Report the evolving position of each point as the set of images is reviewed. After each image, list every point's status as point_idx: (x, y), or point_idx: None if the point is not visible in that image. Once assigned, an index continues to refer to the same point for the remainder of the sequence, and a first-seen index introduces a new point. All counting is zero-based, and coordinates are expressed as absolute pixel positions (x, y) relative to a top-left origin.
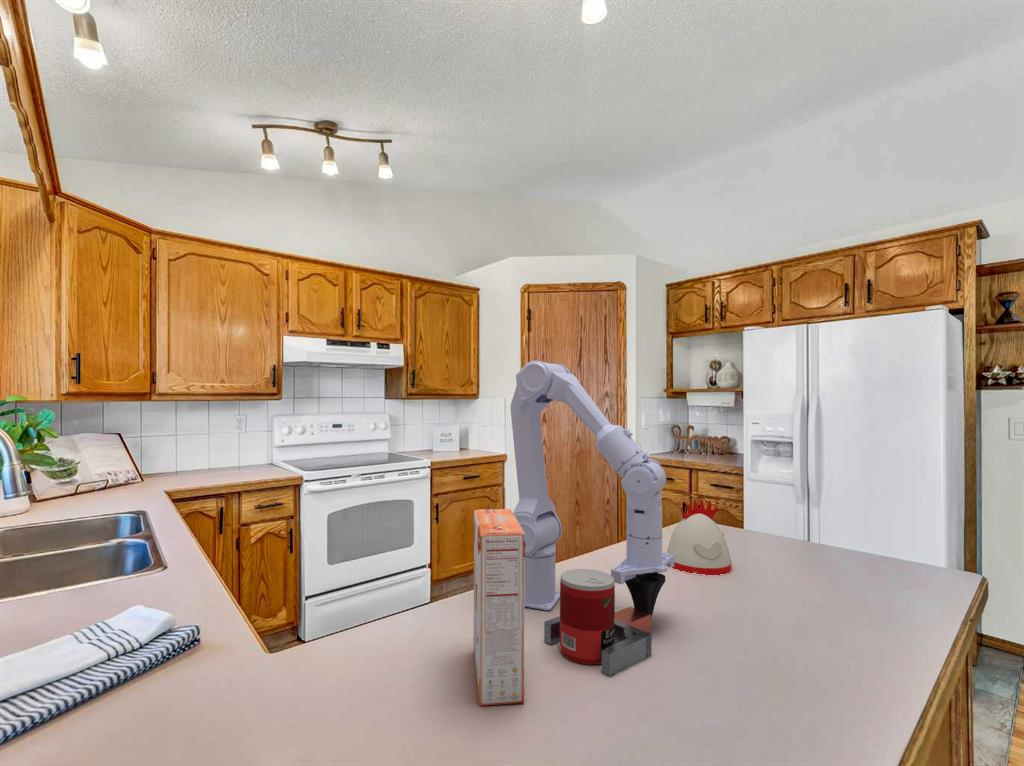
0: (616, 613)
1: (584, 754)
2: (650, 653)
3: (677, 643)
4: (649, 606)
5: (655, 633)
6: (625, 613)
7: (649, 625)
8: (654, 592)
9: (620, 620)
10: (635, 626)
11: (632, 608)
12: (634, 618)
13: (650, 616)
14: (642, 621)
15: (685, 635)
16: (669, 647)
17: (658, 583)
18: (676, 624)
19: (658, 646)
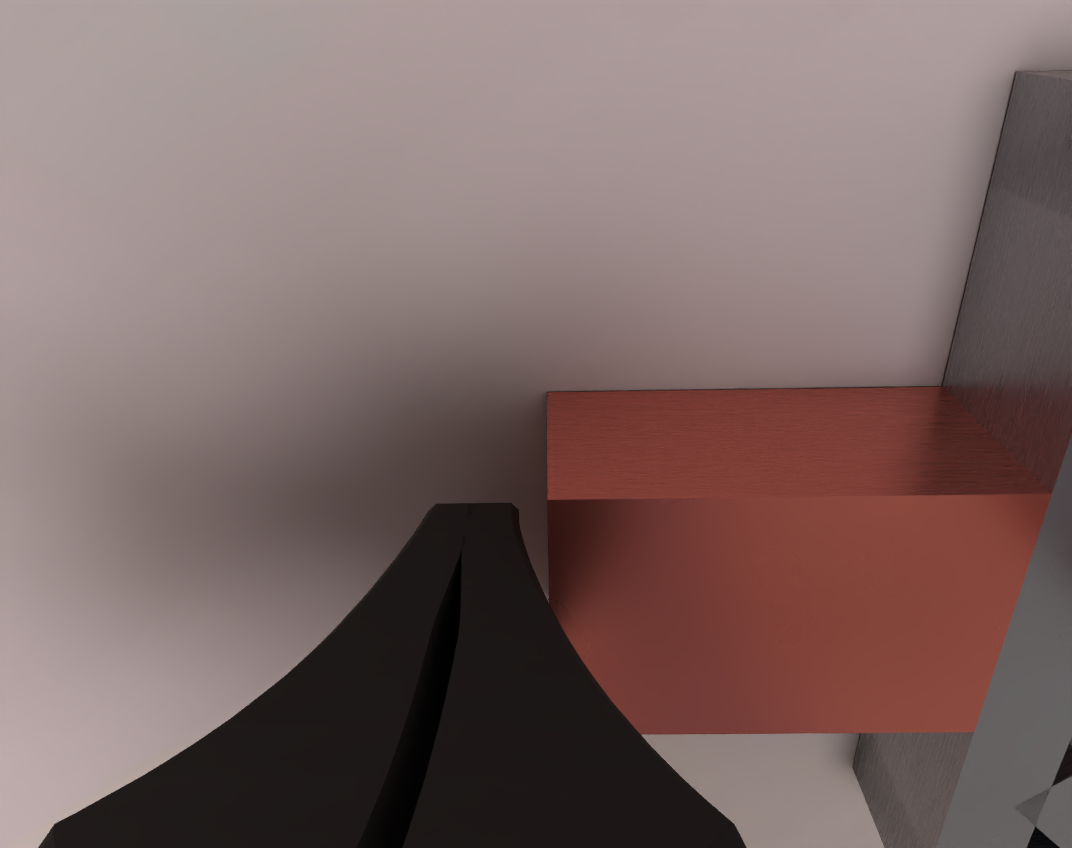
0: (843, 711)
1: None
2: (1052, 72)
3: (506, 66)
4: (508, 586)
5: (500, 364)
6: (764, 665)
7: (569, 432)
8: (405, 712)
9: (994, 593)
10: (854, 457)
11: None
12: (820, 538)
13: (552, 484)
14: (715, 473)
15: (249, 134)
16: (672, 64)
17: (343, 829)
18: (126, 359)
19: (745, 162)
